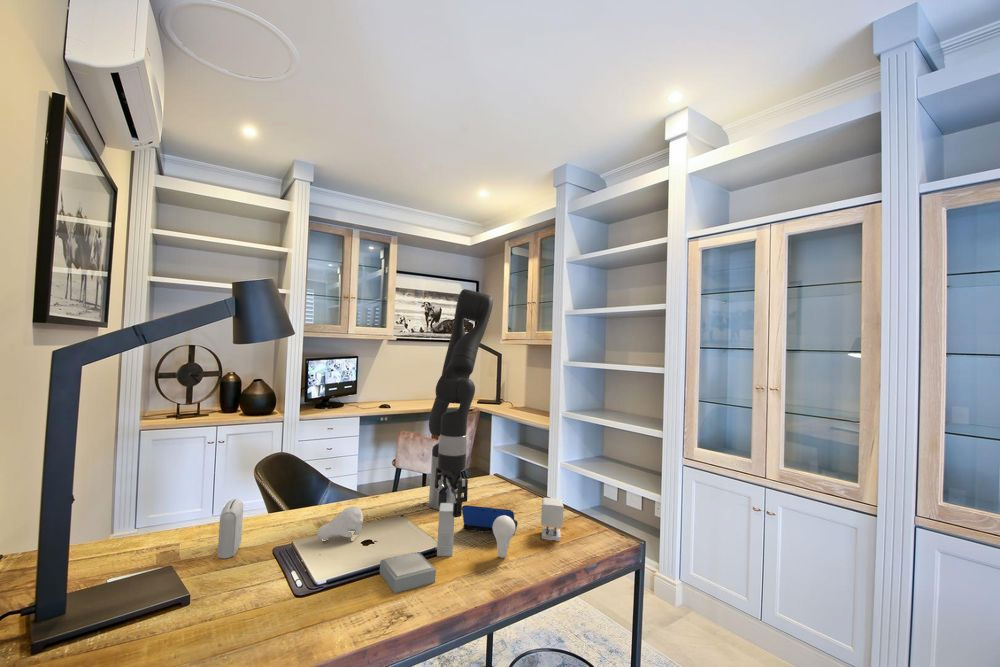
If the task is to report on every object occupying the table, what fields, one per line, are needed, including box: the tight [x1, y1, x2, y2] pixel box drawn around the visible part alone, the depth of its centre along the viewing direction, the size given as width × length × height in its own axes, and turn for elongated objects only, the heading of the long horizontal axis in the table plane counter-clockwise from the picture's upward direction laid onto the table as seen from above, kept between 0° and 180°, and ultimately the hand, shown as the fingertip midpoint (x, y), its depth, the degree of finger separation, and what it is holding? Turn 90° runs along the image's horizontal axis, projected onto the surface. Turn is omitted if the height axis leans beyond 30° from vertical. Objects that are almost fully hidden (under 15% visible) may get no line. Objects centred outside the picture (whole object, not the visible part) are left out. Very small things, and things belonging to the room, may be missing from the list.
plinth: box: [379, 551, 437, 594], centre depth 108 cm, size 10×10×3 cm
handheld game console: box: [461, 504, 518, 535], centre depth 138 cm, size 16×13×9 cm
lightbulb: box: [492, 515, 516, 559], centre depth 121 cm, size 6×6×11 cm
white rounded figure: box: [317, 506, 364, 542], centre depth 126 cm, size 6×8×12 cm
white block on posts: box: [540, 497, 564, 542], centre depth 136 cm, size 6×7×10 cm
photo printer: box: [217, 498, 244, 559], centre depth 116 cm, size 10×4×12 cm, turn 20°
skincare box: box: [436, 503, 455, 557], centre depth 123 cm, size 6×4×12 cm
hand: (449, 511), depth 122 cm, fingers open, 8 cm apart
